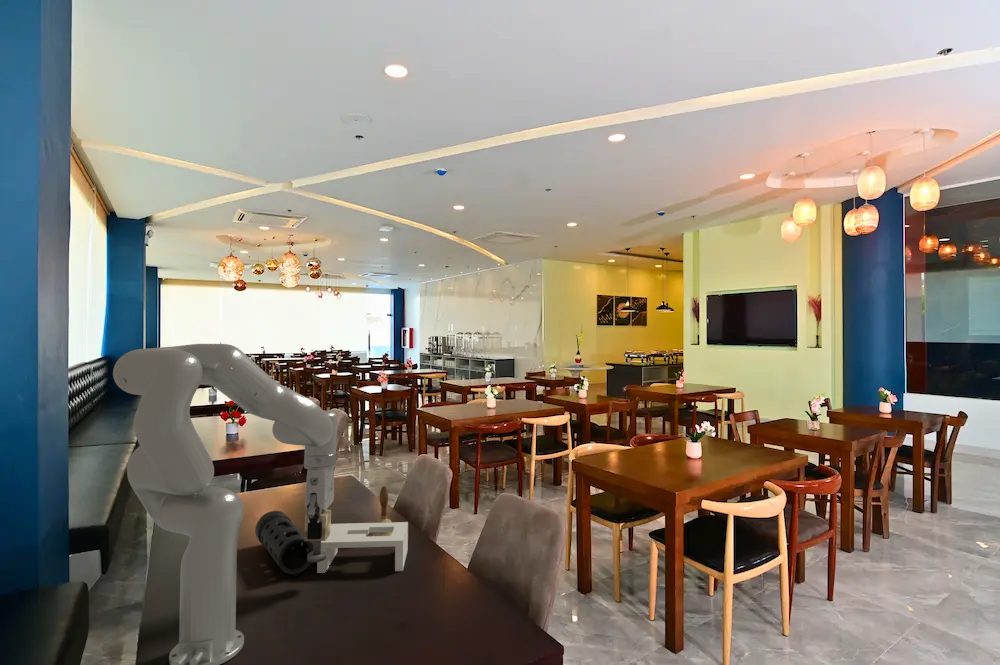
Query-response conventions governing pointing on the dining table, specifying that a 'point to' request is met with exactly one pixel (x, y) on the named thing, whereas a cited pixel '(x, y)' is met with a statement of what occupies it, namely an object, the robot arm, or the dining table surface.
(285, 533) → the muzzle brake
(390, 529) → the keyhole stand
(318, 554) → the peg
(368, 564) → the dining table surface
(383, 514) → the hand bell
